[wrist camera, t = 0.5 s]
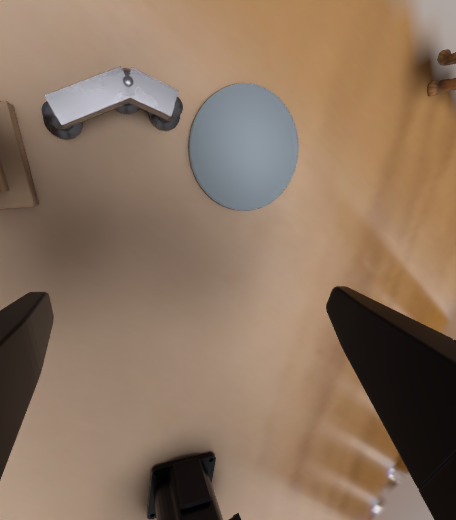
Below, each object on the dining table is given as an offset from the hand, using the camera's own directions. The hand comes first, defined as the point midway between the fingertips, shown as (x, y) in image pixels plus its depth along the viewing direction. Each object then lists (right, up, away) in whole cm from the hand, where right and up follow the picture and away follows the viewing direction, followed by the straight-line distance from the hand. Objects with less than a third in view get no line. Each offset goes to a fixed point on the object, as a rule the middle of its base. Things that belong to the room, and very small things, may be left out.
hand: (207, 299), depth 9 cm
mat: (+2, +10, +13) cm, 16 cm away
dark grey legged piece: (-7, +11, +9) cm, 15 cm away
